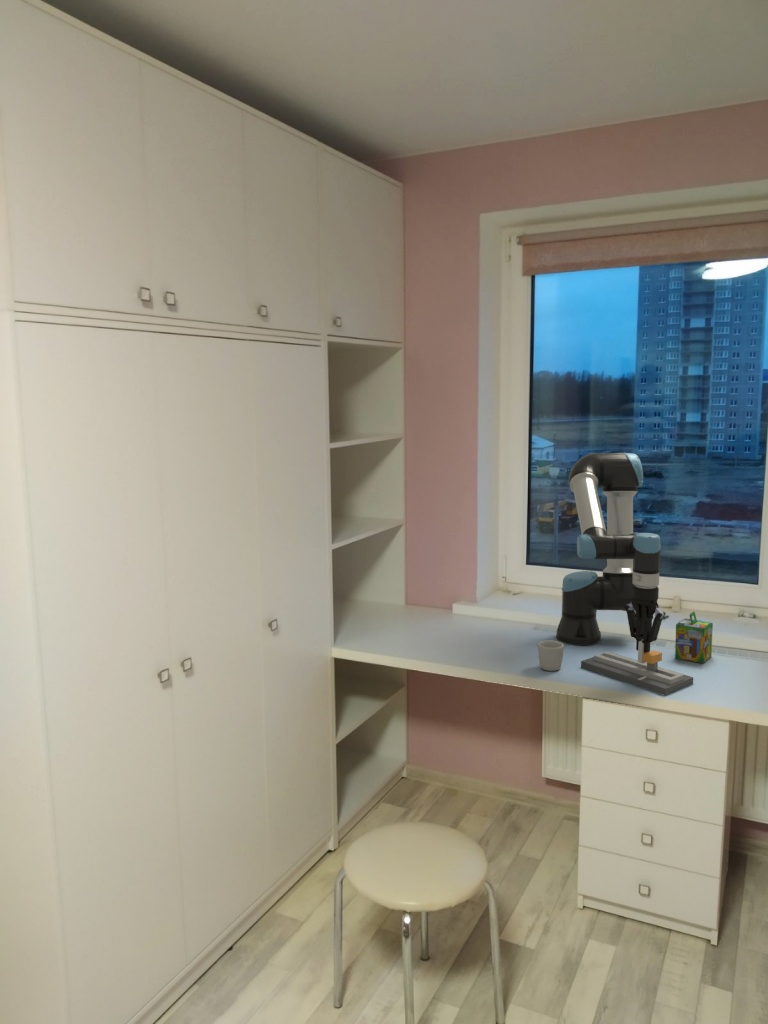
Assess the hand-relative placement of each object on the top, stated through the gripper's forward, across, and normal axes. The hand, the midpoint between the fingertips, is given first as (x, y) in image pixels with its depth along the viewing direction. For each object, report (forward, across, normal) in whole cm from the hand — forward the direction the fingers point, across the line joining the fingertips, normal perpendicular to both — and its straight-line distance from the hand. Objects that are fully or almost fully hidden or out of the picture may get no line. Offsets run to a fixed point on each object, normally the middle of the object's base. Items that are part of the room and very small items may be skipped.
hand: (642, 661), depth 238 cm
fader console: (+5, -2, 0) cm, 6 cm away
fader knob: (+3, +3, 0) cm, 4 cm away
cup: (+5, -24, -14) cm, 28 cm away
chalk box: (+5, 0, +28) cm, 29 cm away
